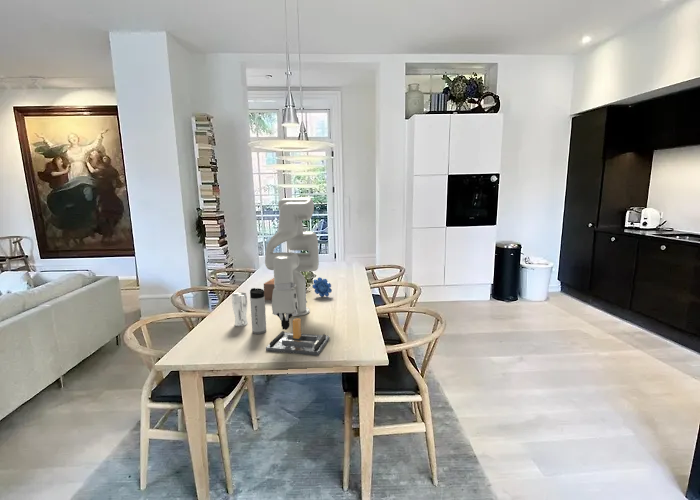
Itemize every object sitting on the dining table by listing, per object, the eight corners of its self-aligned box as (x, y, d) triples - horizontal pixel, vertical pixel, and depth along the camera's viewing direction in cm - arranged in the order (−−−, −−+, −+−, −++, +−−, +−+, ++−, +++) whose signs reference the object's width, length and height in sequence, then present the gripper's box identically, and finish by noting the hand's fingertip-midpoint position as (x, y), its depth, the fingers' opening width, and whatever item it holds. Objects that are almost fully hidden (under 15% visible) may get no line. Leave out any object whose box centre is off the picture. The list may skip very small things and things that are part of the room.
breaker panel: (281, 335, 163) (281, 328, 162) (329, 339, 158) (329, 332, 157) (266, 350, 147) (265, 343, 147) (318, 355, 142) (317, 348, 142)
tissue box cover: (287, 301, 212) (286, 284, 210) (264, 300, 215) (263, 283, 213) (302, 289, 236) (301, 274, 235) (281, 288, 239) (281, 273, 238)
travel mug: (260, 327, 172) (257, 286, 168) (269, 331, 167) (266, 289, 164) (249, 331, 167) (246, 289, 163) (257, 335, 163) (255, 292, 159)
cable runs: (282, 333, 161) (282, 330, 161) (326, 336, 156) (326, 333, 156) (269, 346, 148) (268, 342, 148) (316, 350, 144) (316, 347, 143)
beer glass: (233, 322, 179) (231, 293, 176) (247, 320, 181) (246, 291, 179) (234, 327, 172) (231, 297, 170) (249, 325, 175) (247, 295, 172)
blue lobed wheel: (311, 298, 215) (310, 279, 213) (313, 295, 222) (312, 276, 220) (331, 298, 215) (330, 279, 212) (332, 295, 221) (331, 276, 219)
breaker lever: (295, 338, 154) (294, 317, 153) (302, 339, 154) (301, 318, 152) (292, 342, 151) (291, 320, 149) (299, 342, 150) (298, 321, 149)
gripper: (304, 284, 151) (305, 326, 154) (270, 282, 155) (272, 324, 158) (297, 289, 144) (299, 333, 147) (262, 287, 147) (265, 330, 150)
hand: (285, 328), depth 152 cm, fingers closed
